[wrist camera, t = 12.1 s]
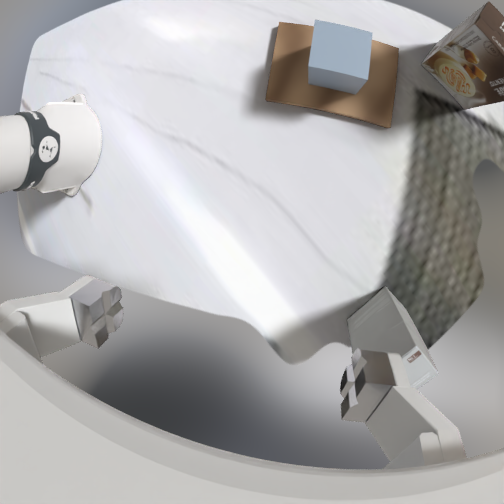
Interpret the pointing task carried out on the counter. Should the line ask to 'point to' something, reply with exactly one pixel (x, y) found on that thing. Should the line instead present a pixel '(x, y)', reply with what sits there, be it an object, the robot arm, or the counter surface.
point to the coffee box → (472, 59)
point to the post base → (325, 99)
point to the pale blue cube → (339, 57)
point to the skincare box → (392, 336)
